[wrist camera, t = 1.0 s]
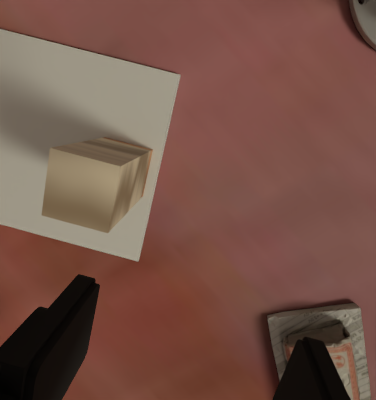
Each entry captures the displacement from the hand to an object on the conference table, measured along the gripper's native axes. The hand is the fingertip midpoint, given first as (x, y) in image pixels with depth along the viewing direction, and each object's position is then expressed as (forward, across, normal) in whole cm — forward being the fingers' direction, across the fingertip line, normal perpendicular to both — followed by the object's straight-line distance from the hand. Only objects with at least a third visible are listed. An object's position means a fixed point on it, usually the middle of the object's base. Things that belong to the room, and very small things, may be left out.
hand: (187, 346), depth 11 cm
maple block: (+23, +9, 0) cm, 25 cm away
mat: (+24, +15, 0) cm, 28 cm away
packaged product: (+24, -18, +18) cm, 36 cm away
